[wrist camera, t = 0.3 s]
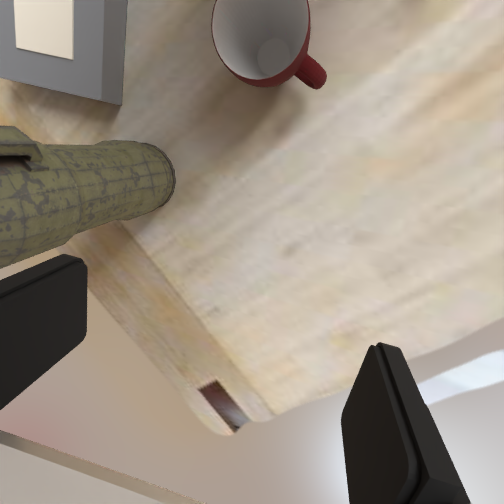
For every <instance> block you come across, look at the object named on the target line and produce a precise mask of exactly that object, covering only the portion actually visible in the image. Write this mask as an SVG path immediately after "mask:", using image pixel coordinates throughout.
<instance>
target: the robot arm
mask: <svg viewBox="0 0 504 504" xmlns="http://www.w3.org/2000/svg"><path fill="white" fill-rule="evenodd" d="M86 332H87V266H86V265H85V264H84V261H83V260H82V259H81V258H77V257H74V256H70V255H67V254H62V255H59V256H57V257H54V258H52V259H49V260H47V261H45V262H42V263H40V264H38V265H35V266H33V267H31V268H28V269H26V270H23V271H21V272H19V273H16V274H14V275H12V276H9V277H7V278H4V279H2V280H0V410H1V409H2V408H4V407H5V406H6V405H7V404H8V403H9V402H11V401H12V400H13V399H14V398H15V397H16V396H18V395H19V394H20V393H21V392H23V391H24V390H25V389H26V388H27V387H29V386H30V385H31V384H32V383H33V382H34V381H36V380H37V379H38V378H39V377H40V376H42V375H43V374H44V373H45V372H46V371H48V370H49V369H50V368H51V367H52V366H53V365H55V364H56V363H57V362H58V361H60V360H61V359H62V358H63V357H64V356H65V355H67V354H68V353H69V352H70V351H71V350H73V349H74V348H75V347H76V346H77V345H79V344H80V343H81V342H82V341H83V339H84V338H85V336H86ZM341 427H342V436H343V446H344V455H345V465H346V474H347V484H348V493H349V502H350V504H471V503H470V500H469V498H468V496H467V493H466V491H465V489H464V487H463V485H462V482H461V480H460V478H459V476H458V473H457V471H456V469H455V467H454V464H453V462H452V460H451V458H450V455H449V453H448V451H447V449H446V447H445V444H444V442H443V440H442V438H441V435H440V433H439V431H438V429H437V427H436V424H435V422H434V420H433V418H432V416H431V413H430V411H429V409H428V407H427V406H426V404H425V403H424V401H423V399H422V396H421V394H420V392H419V390H418V387H417V385H416V383H415V381H414V379H413V376H412V374H411V372H410V369H409V367H408V365H407V362H406V360H405V358H404V356H403V353H402V351H401V349H400V348H398V347H395V346H391V345H388V344H384V343H381V342H379V343H378V344H377V345H376V346H373V345H371V346H370V347H369V349H368V351H367V354H366V356H365V358H364V361H363V363H362V366H361V368H360V370H359V373H358V375H357V378H356V380H355V382H354V385H353V387H352V390H351V392H350V395H349V397H348V399H347V402H346V404H345V407H344V409H343V412H342V417H341ZM0 504H206V503H203V502H201V501H198V500H195V499H192V498H189V497H187V496H184V495H181V494H178V493H176V492H173V491H170V490H168V489H165V488H162V487H159V486H156V485H154V484H151V483H148V482H145V481H142V480H139V479H137V478H134V477H131V476H128V475H126V474H123V473H120V472H117V471H114V470H112V469H109V468H106V467H103V466H100V465H97V464H95V463H92V462H89V461H86V460H84V459H81V458H78V457H75V456H72V455H70V454H67V453H64V452H61V451H58V450H55V449H53V448H50V447H47V446H44V445H41V444H39V443H35V442H33V441H30V440H27V439H24V438H21V437H19V436H16V435H13V434H10V433H7V432H4V431H1V430H0Z"/></svg>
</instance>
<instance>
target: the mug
mask: <svg viewBox="0 0 504 504" xmlns="http://www.w3.org/2000/svg"><path fill="white" fill-rule="evenodd" d="M211 27H212V37H213V42H214V46H215V48H216V51H217V53H218V55H219V57H220V59H221V60H222V62H223V63H224V65H225V66H226V67H227V68H228V69H229V70H230V71H231V72H232V73H233V74H234V75H235V76H236V77H237V78H239V79H240V80H242V81H243V82H245V83H247V84H250V85H253V86H258V87H273V86H277V85H280V84H282V83H284V82H285V81H287V80H288V79H290V78H291V77H292V76H294V75H295V76H296V77H297V78H299V79H300V80H301V81H302V82H304V83H305V84H306V85H308V86H309V87H311V88H313V89H320V88H321V87H322V86H323V85H324V83H325V81H326V78H327V74H326V72H325V70H324V69H323V68H322V67H321V65H320V64H319V63H317V62H316V61H315V60H314V59H313V58H311V57H310V56H309V55H308V54H307V51H308V45H309V39H310V29H311V28H310V10H309V4H308V0H216V1H215V5H214V8H213V13H212V23H211Z"/></svg>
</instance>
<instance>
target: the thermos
mask: <svg viewBox="0 0 504 504" xmlns="http://www.w3.org/2000/svg"><path fill="white" fill-rule="evenodd" d="M175 183H176V180H175V171H174V169H173V166H172V164H171V161H170V160H169V158H168V157H167V156H166V155H165V153H164V152H163V151H161V150H160V149H158V148H157V147H156V146H153V145H150V144H147V143H138V142H135V141H118V140H112V141H102V142H100V143H98V144H96V145H43V144H41V143H39V142H36V141H33V140H31V139H30V138H29V137H28V136H27V135H26V134H24V133H23V132H21V131H20V130H19V129H17V128H16V127H15V126H0V269H1V268H3V267H6V266H9V265H11V264H14V263H16V262H19V261H22V260H24V259H27V258H30V257H32V256H34V255H37V254H40V253H43V252H45V251H48V250H50V249H53V248H56V247H58V246H61V245H63V244H65V243H66V242H67V241H68V240H69V239H70V238H71V237H72V236H73V235H74V234H77V233H80V232H83V231H85V230H88V229H91V228H94V227H96V226H99V225H102V224H105V223H107V222H110V221H113V220H130V219H132V218H135V217H138V216H140V215H143V214H146V213H148V212H151V211H153V210H155V209H156V208H157V207H160V206H163V205H164V204H165V203H166V202H167V201H168V200H169V199H170V198H171V196H172V194H173V192H174V188H175Z"/></svg>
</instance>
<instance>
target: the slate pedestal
mask: <svg viewBox="0 0 504 504" xmlns="http://www.w3.org/2000/svg"><path fill="white" fill-rule="evenodd" d="M126 17H127V0H0V78H3V79H8V80H12V81H17V82H21V83H25V84H30V85H34V86H38V87H43V88H47V89H51V90H56V91H60V92H65V93H69V94H73V95H78V96H82V97H86V98H91V99H95V100H99V101H104V102H108V103H113V104H117V105H121V106H122V89H123V71H124V53H125V35H126Z"/></svg>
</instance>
